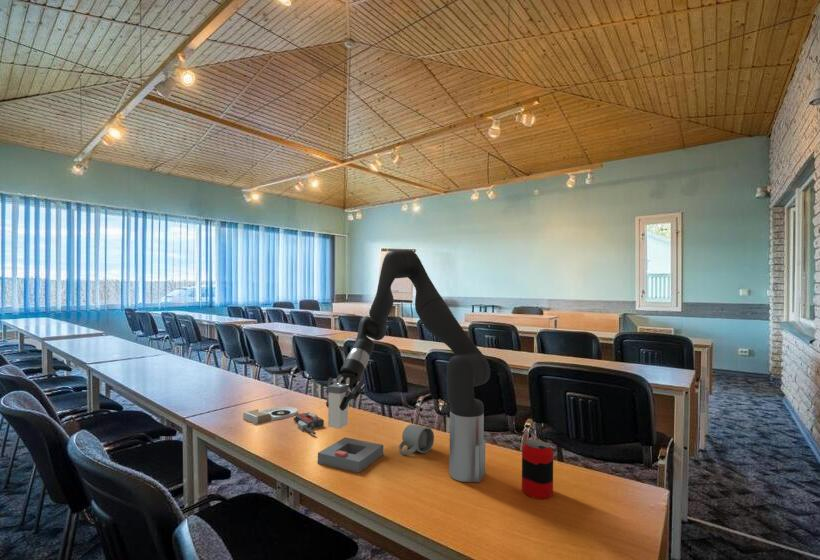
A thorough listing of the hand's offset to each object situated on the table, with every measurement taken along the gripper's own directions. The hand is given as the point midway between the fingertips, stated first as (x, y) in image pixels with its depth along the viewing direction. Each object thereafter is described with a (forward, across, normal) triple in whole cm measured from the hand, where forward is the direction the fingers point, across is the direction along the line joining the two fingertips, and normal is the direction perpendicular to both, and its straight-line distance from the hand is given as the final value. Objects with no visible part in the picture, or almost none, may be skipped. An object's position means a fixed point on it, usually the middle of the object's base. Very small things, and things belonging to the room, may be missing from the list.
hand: (334, 408), depth 132 cm
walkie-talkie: (+1, -19, +18) cm, 26 cm away
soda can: (+10, +63, +9) cm, 64 cm away
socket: (+13, +10, +5) cm, 17 cm away
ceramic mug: (+3, +24, +16) cm, 29 cm away
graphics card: (-2, -41, +20) cm, 45 cm away
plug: (+3, 0, +6) cm, 6 cm away
